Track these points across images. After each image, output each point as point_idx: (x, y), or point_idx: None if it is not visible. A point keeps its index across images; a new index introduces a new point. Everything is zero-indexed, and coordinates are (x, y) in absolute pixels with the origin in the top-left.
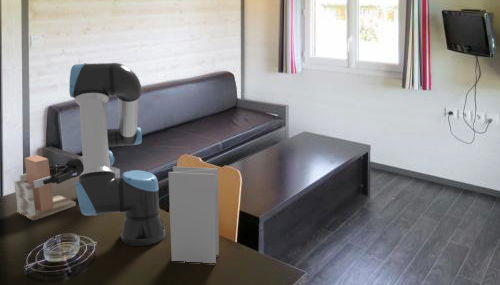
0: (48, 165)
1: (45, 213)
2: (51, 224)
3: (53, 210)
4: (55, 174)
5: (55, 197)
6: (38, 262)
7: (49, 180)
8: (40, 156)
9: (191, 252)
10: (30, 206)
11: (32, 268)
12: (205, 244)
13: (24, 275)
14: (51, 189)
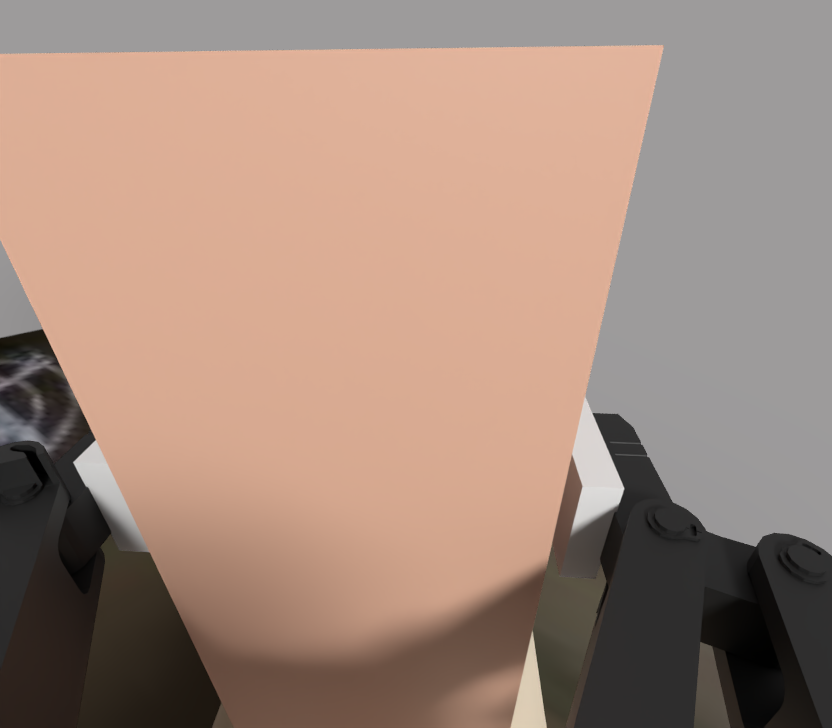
0: (31, 274)
1: None
2: (117, 582)
3: (216, 724)
4: (16, 597)
5: None
6: (5, 379)
7: (79, 451)
8: (373, 50)
9: None
10: None
11: (13, 361)
12: None
13: (25, 342)
14: (199, 650)
